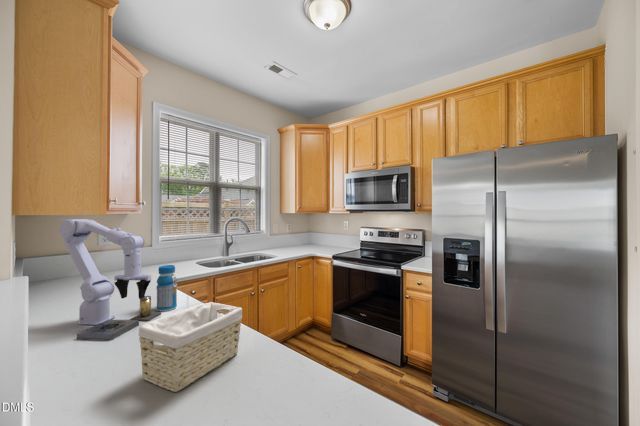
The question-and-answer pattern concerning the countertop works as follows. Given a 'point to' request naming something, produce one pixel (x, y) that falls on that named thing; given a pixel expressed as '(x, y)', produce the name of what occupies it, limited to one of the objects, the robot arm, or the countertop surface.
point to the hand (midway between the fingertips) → (132, 297)
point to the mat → (153, 315)
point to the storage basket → (188, 344)
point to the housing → (107, 330)
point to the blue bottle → (166, 288)
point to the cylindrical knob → (145, 307)
